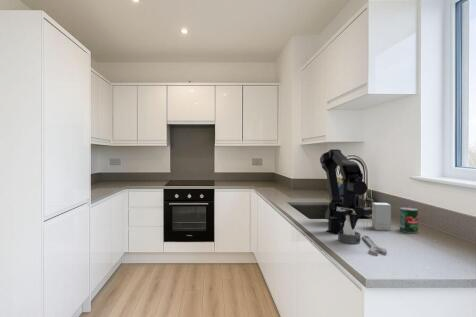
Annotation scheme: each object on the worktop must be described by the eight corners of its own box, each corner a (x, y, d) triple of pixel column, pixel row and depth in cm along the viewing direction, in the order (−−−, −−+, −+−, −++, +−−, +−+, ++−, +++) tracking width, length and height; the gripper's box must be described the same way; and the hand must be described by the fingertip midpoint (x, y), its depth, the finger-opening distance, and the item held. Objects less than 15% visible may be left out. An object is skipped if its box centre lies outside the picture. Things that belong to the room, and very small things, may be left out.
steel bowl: (333, 240, 135) (334, 232, 135) (347, 237, 139) (347, 229, 139) (350, 245, 127) (350, 236, 127) (364, 242, 132) (364, 233, 132)
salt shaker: (344, 238, 137) (344, 213, 137) (357, 240, 134) (357, 215, 134) (340, 241, 133) (340, 215, 133) (353, 243, 130) (353, 217, 129)
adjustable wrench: (361, 238, 139) (361, 235, 139) (377, 240, 138) (377, 236, 138) (370, 255, 115) (370, 251, 115) (389, 257, 113) (389, 252, 113)
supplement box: (391, 230, 152) (391, 204, 152) (375, 229, 154) (375, 204, 154) (387, 227, 160) (387, 202, 160) (371, 226, 161) (371, 202, 161)
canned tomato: (405, 228, 157) (405, 206, 157) (421, 231, 150) (421, 209, 150) (396, 230, 153) (396, 208, 153) (412, 233, 146) (412, 210, 146)
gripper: (380, 193, 129) (380, 230, 129) (345, 188, 145) (344, 222, 145) (363, 195, 124) (362, 234, 124) (327, 190, 140) (327, 224, 140)
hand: (349, 228), depth 133 cm, fingers closed on salt shaker, 4 cm apart
